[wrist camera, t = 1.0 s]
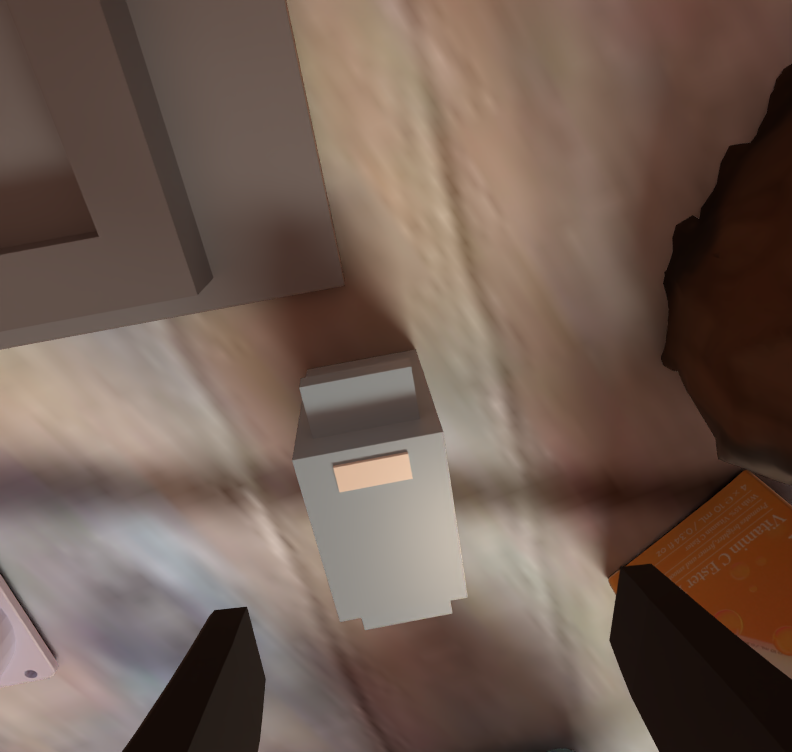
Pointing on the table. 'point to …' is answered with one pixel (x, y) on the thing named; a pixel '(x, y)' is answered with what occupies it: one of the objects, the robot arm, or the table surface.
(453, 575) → the block
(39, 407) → the table surface
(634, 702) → the robot arm
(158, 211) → the chassis
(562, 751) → the teakettle
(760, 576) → the small box
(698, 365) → the owl
